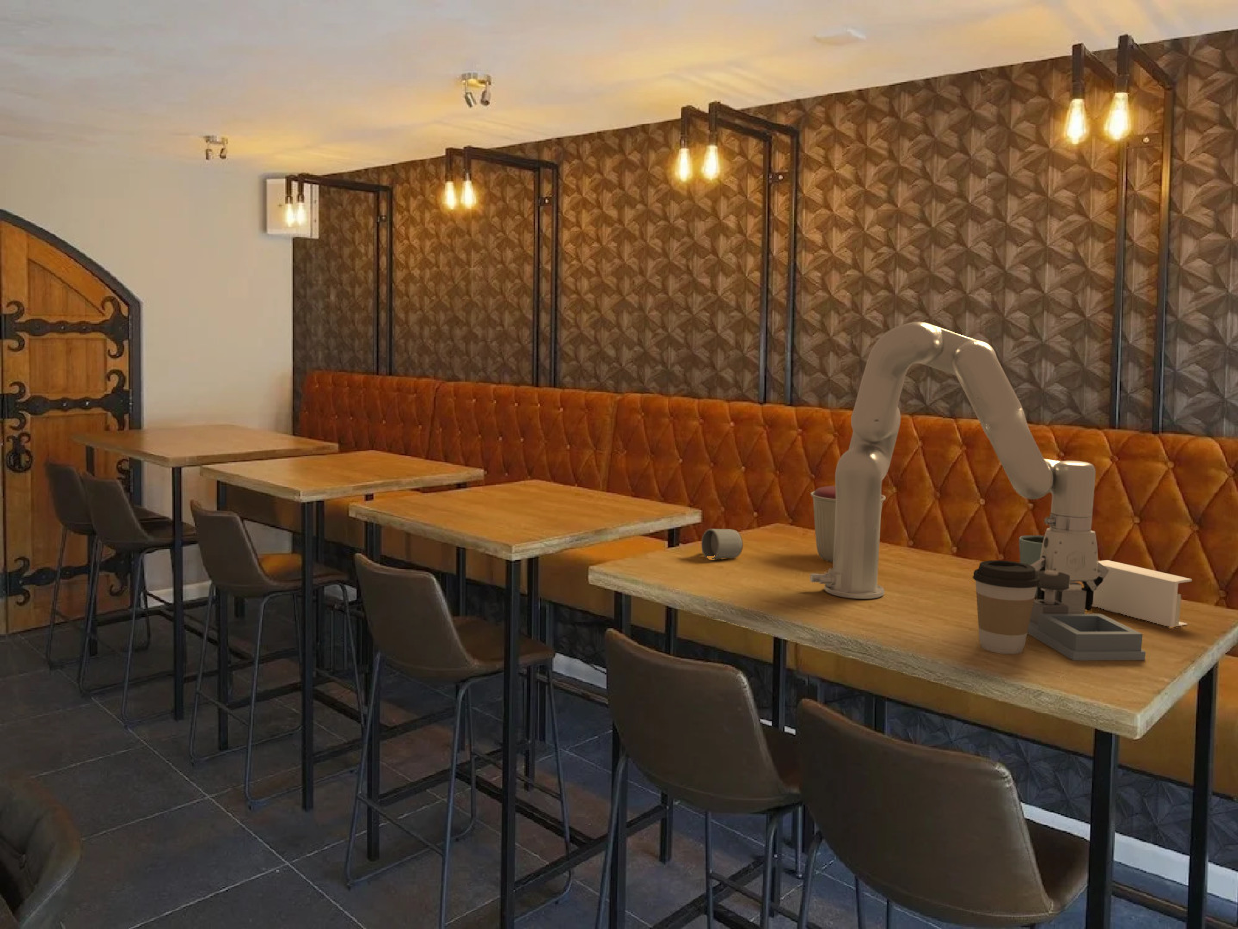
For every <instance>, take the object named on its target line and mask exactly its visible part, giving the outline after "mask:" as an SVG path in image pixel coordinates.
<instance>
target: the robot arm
mask: <svg viewBox="0 0 1238 929" xmlns="http://www.w3.org/2000/svg"><path fill="white" fill-rule="evenodd" d="M914 364H921V365H925V366H927V367H931V368H933V369H936V370H939V371H941V372H943V373H946V374H950V375H952V376H955V377H956V379H957V380H958V382H959V384H960V386H961V388H962V391H964V394H965V395H966V398H967V399H968V402H969V403H970V405H971V408H972V410H973V412H974V413H975V415H976V418H977V420H978V421H979V424H980V427H982V430H983V432H984V434H985V435H986V437H987V438H988V440H989V442H990V445H991V446H992V448H993V450H994V452H995V454H996V456H997V459H998V462H1000V465H1001V466H1002V468H1003V470H1004V473H1005V474H1006V476H1007V478H1008V480H1009V482H1010V483H1011V484H1010V485H1011V486H1012V488H1013V489H1014V491H1015V492H1016V493H1017V494H1018V495H1019V496H1020V497H1022V498H1025V499H1028V500H1037V499H1041V498H1043V497H1045V496H1046V495H1048V493H1049V494H1050V493H1051V506H1050V513H1049V516H1047V517H1045V518H1044V519H1043V520H1044V521H1043V522H1044V524H1045V525H1049V527H1048V528H1046V530H1045V534H1044V535H1043V536H1044V540H1043V544H1042V549H1041V556H1040V560H1038V561H1036V562H1035V563H1033V564H1031V565H1030V566H1033V567H1034V568H1035V571H1038V570H1039V571H1045V570H1054V571H1058V572H1060V573H1064V574H1067V575H1069V576H1070V580H1069V582H1073V581H1075V582H1081V584H1082V585H1083V586H1082V588H1081V589H1082V590H1084V591H1086V603H1085V611H1091V610H1092V604H1093V594H1094V591H1096V589H1097V587H1098V586H1099V585H1100V584H1101V583H1102V582H1103V579H1104V578H1105V577H1106V575H1107V574H1108V572H1109V569H1107V568H1106V567H1104V566H1103V565H1102V564H1100V563H1099V562H1098V561H1099V560H1098V558H1099V557H1098V556H1099V555H1098V554H1099V553H1098V542H1097V535H1096V534H1097V533H1096V531H1095V530H1092V524H1093V510H1094V509H1093V508H1094V497H1095V485H1096V484H1095V483H1096V468H1095V466H1094V464H1092V463H1090V462H1087V461H1080V460H1053V459H1048V458H1044V457H1043V454H1042V452H1041V451H1040V448H1039V446H1038V444H1037V443H1036V441H1035V438H1034V436H1033V434H1032V432H1031V430H1030V428H1029V424H1028V421H1027V418H1026V415H1025V414H1026V413H1025V412H1024V409H1023V406H1022V403H1021V402H1020V400H1019V398H1018V396H1017V394H1016V393H1015V390H1014V389H1013V388H1014V387H1012V384H1011V383H1010V381H1009V379H1008V376H1007V375H1006V373H1005V371H1004V369H1003V367H1002V366H1001V363H1000V362H999V359H998V357H997V354H996V351H995V350H994V348H993V347H992V346H991V345H990V344H989V343H987V342H985V341H982V340H979V339H974V338H972V337H967V336H965V335H963V334H962V335H961V334H959V333H955V331H951V330H948V329H945V328H942V327H939V326H936V325H933V324H931V323H928V322H925V321H913V322H908V323H904V324H901V325H898V326H896V327H894V328H891V329H890V330H887V331H886V332H885V333H883V335H881V336H880V337H879V338H878V339H877V341H876V342H875V343H874V345H873V346H872V348H871V350H870V352H869V355H868V357H867V360H866V363H865V368H864V371H863V375H862V379H861V382H860V384H859V388H858V392H857V396H856V399H855V402H854V403H855V404H854V407H853V410H852V413H851V419H850V422H851V423H850V425H851V428H852V435H851V438H850V443H849V446H848V450H846V451H845V452H843V453H842V455H841V456H840V458H839V459H838V461H837V465H836V467H835V468H836V469H835V475H834V476H835V477H834V481H835V485H834V486H835V487H836V509H835V535H834V555H833V562H832V568H828V571H825V572H824V573H810V576H809V579H810V583H818V584H820V585H821V584H822V585H824V591H825V592H826V593H828V594H829V595H833V596H836V597H841V598H845V599H846V598H847V599H857V600H858V599H859V600H861V599H862V600H870V599H871V600H872V599H878V598H881V597H883V596H884V595H885V588H884V587H883V586H881V585H880V584H878V577H879V576H878V574H879V557H880V537H881V521H882V520H881V519H882V518H881V516H882V510H881V494H882V483H883V480H884V479H885V477H886V476H887V473H888V471H889V468H890V466H891V462H892V458H893V454H894V449H895V446H896V442H897V439H898V433H899V431H900V426H901V419H902V418H901V415H902V414H901V411H900V408H899V403H900V398H901V393H902V391H903V387H904V383H905V379H906V375H907V373H908V370H909V368H911V366H913V365H914ZM1097 571H1098V572H1097ZM1037 588H1038V591H1037V596H1036V600H1044V595H1045V589H1043V588H1039V587H1037Z"/></svg>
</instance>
